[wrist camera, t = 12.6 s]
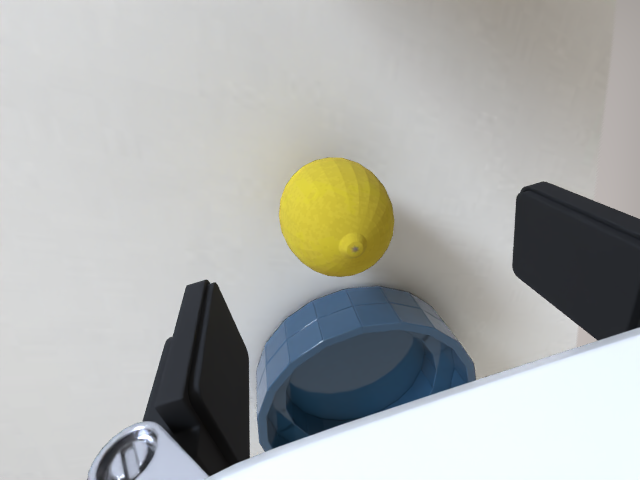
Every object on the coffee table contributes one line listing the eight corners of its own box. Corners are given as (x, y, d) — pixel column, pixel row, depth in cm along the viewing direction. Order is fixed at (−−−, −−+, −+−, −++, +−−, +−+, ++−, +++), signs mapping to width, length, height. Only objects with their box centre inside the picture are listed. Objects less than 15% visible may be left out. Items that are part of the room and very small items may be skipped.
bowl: (338, 246, 23) (357, 282, 19) (480, 334, 29) (517, 376, 25) (218, 398, 27) (212, 455, 23) (365, 449, 32) (381, 502, 28)
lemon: (376, 157, 21) (441, 199, 14) (349, 240, 23) (393, 314, 16) (286, 134, 19) (306, 167, 12) (266, 224, 21) (272, 298, 14)
